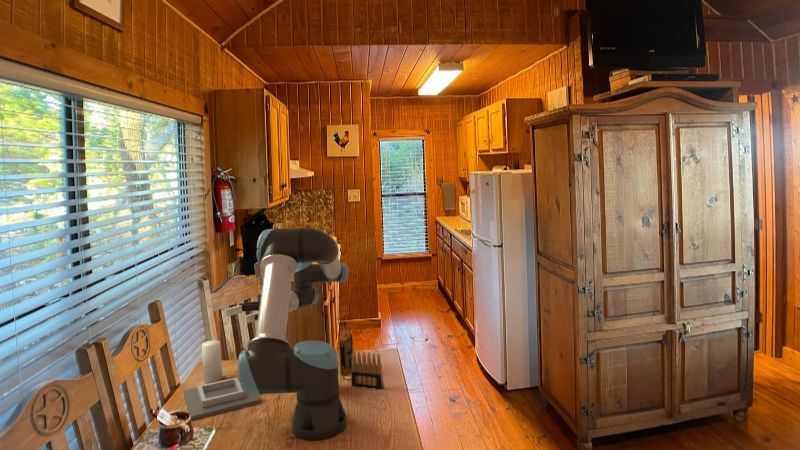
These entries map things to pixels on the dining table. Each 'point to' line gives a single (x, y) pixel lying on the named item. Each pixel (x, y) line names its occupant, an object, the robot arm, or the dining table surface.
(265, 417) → the dining table surface
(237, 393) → the socket block
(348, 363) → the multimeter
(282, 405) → the dining table surface
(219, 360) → the plug
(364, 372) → the ammunition clip
